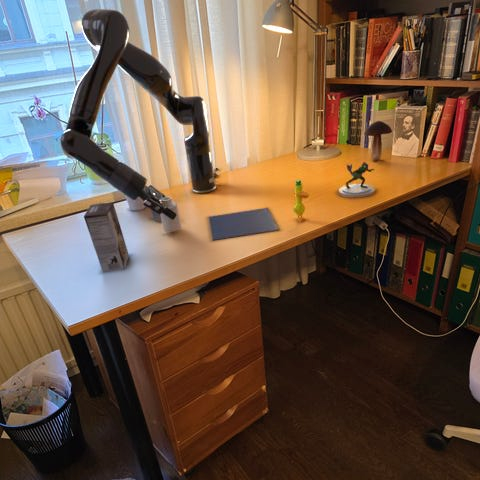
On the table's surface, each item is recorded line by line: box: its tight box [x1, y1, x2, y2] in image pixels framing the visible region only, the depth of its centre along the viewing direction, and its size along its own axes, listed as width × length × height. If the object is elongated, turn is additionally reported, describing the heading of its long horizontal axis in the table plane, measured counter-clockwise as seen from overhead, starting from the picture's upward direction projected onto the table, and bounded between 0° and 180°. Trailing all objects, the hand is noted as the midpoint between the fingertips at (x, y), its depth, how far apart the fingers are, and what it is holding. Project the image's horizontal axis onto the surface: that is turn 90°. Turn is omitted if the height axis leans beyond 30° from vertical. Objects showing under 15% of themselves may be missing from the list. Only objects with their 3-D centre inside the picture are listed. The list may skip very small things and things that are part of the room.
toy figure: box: [292, 179, 310, 222], centre depth 124 cm, size 7×4×12 cm, turn 32°
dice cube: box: [150, 207, 162, 222], centre depth 143 cm, size 5×5×5 cm
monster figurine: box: [338, 161, 376, 199], centre depth 140 cm, size 12×12×10 cm
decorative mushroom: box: [363, 120, 393, 161], centre depth 169 cm, size 11×11×15 cm
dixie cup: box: [123, 194, 146, 211], centre depth 153 cm, size 8×8×10 cm
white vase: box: [159, 196, 182, 233], centre depth 129 cm, size 6×6×10 cm
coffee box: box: [83, 201, 130, 273], centre depth 112 cm, size 9×6×16 cm
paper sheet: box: [208, 207, 280, 241], centre depth 131 cm, size 20×20×1 cm
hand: (175, 213), depth 129 cm, fingers closed on white vase, 5 cm apart
